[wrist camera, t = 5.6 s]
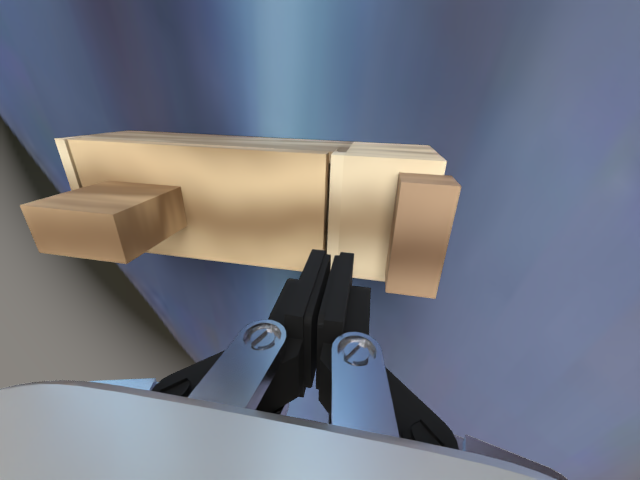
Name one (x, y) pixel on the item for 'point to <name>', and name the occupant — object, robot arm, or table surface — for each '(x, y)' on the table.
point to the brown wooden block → (420, 233)
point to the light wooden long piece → (343, 185)
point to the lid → (187, 204)
